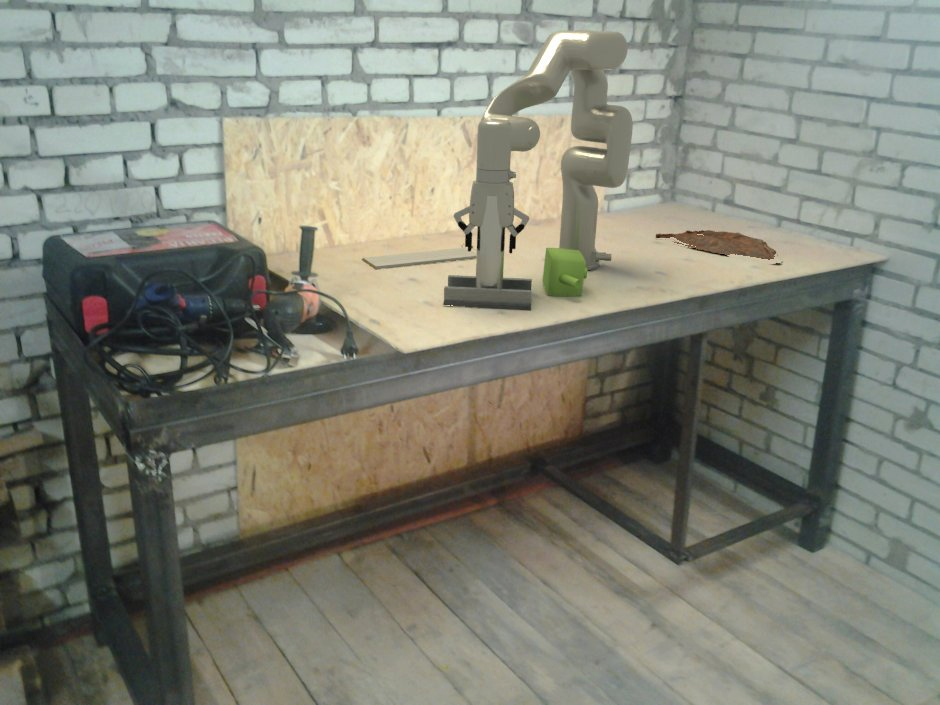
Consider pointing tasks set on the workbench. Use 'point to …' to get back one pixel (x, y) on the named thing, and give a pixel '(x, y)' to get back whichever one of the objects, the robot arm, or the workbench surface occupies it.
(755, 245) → the brown flat irregular piece
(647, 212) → the workbench surface
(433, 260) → the baseboard
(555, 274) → the lime handled box
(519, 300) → the floor track
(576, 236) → the robot arm
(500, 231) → the tan metal cylinder
